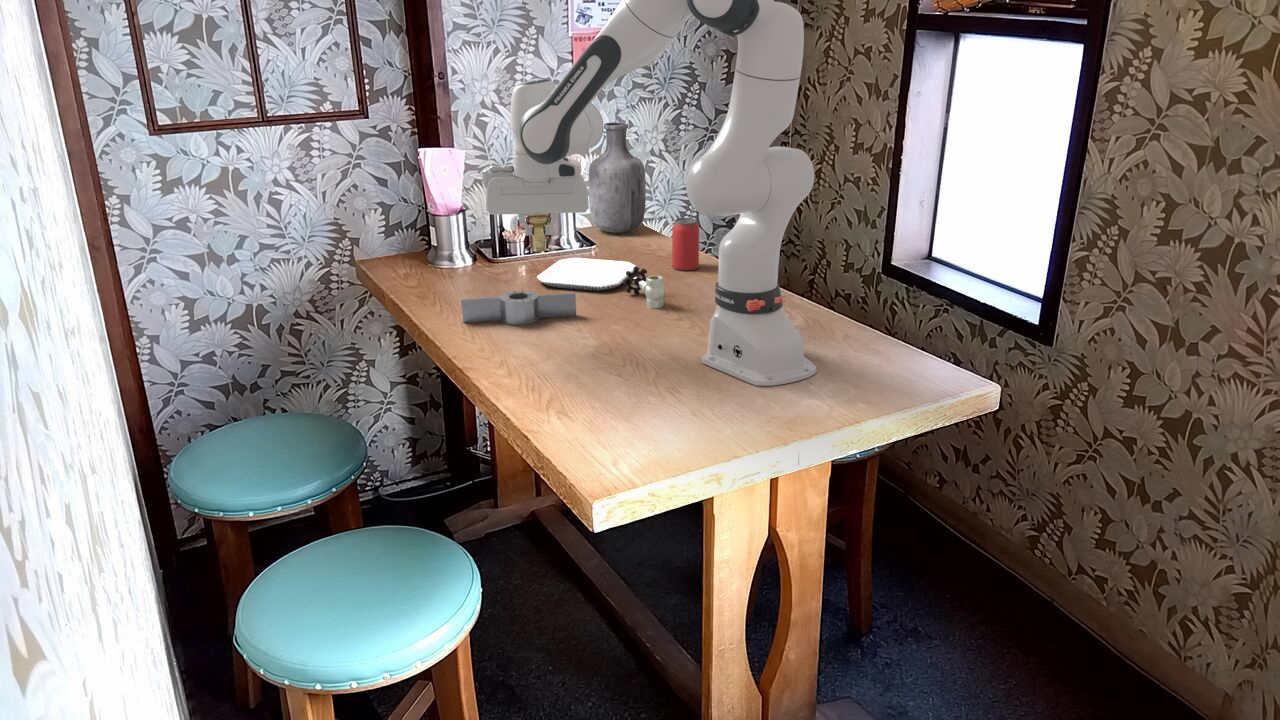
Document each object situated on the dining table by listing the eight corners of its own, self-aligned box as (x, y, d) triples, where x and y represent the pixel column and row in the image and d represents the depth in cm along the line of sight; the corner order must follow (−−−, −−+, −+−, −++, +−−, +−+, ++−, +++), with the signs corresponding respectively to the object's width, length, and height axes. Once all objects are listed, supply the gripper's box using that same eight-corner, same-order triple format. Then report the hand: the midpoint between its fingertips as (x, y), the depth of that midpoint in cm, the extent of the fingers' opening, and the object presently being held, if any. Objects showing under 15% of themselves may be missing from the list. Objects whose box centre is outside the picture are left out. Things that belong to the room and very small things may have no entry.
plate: (531, 288, 224) (531, 279, 223) (563, 264, 242) (563, 256, 241) (614, 296, 218) (614, 286, 217) (641, 271, 236) (641, 262, 235)
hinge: (574, 309, 209) (573, 287, 207) (577, 321, 201) (576, 299, 199) (463, 315, 205) (461, 293, 204) (462, 328, 198) (460, 305, 196)
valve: (672, 306, 210) (648, 291, 220) (672, 278, 208) (648, 264, 218) (645, 311, 207) (622, 296, 217) (645, 282, 205) (622, 268, 215)
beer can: (668, 265, 239) (668, 218, 235) (693, 263, 241) (693, 216, 237) (677, 272, 234) (677, 224, 229) (702, 270, 235) (703, 222, 231)
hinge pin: (550, 252, 190) (549, 217, 188) (528, 253, 190) (527, 218, 187) (550, 246, 194) (549, 212, 192) (528, 247, 194) (527, 212, 191)
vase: (656, 233, 269) (656, 125, 258) (606, 241, 262) (604, 130, 250) (628, 221, 282) (627, 118, 271) (580, 228, 275) (576, 122, 263)
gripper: (481, 170, 182) (485, 240, 187) (588, 168, 183) (589, 237, 189) (483, 163, 187) (487, 231, 193) (586, 161, 189) (588, 229, 195)
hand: (538, 234), depth 191 cm, fingers closed on hinge pin, 3 cm apart
